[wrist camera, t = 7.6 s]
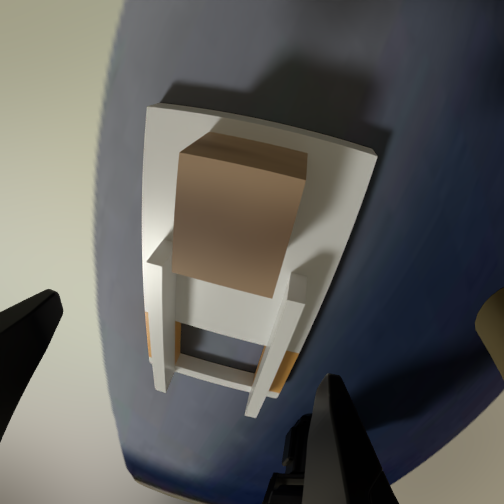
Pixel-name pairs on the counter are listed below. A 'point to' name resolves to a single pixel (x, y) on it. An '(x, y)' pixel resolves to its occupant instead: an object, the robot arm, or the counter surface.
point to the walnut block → (236, 211)
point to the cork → (493, 328)
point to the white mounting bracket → (231, 300)
